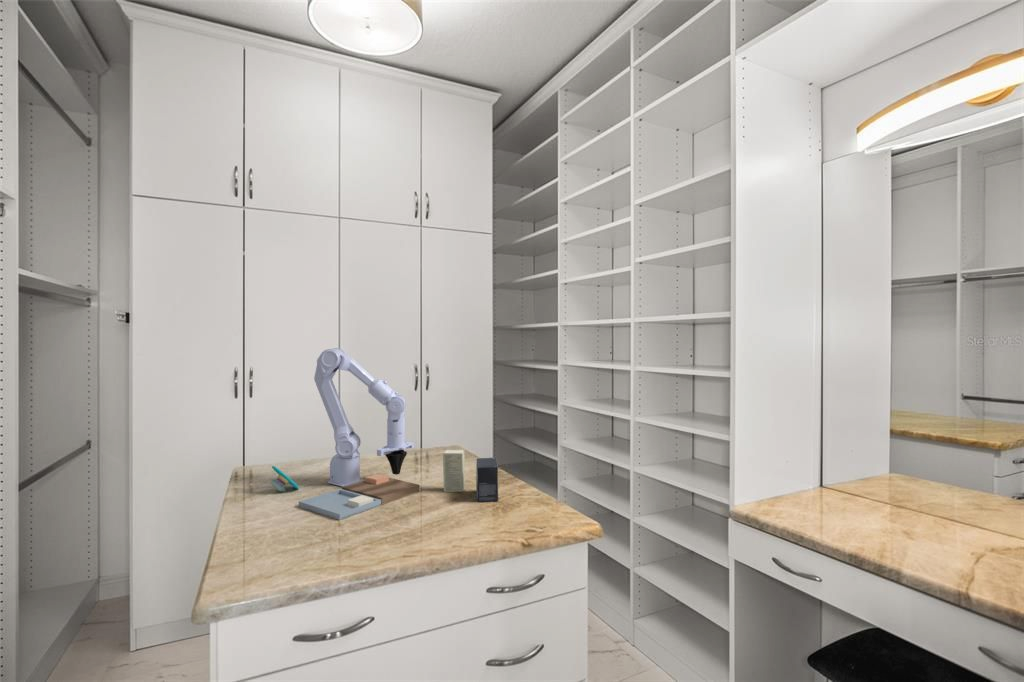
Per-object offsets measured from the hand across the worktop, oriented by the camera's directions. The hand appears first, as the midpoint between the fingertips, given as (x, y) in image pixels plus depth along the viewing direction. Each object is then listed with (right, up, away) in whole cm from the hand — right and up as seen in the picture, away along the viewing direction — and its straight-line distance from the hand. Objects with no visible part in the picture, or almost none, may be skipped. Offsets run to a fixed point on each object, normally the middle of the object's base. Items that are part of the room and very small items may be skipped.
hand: (396, 473), depth 165 cm
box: (-10, -3, -23) cm, 26 cm away
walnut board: (-2, -3, -11) cm, 12 cm away
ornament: (-32, -3, -10) cm, 34 cm away
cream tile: (-5, -3, -23) cm, 24 cm away
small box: (+31, -3, -14) cm, 34 cm away
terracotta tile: (-4, -1, -7) cm, 8 cm away
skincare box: (+20, -3, -9) cm, 22 cm away
